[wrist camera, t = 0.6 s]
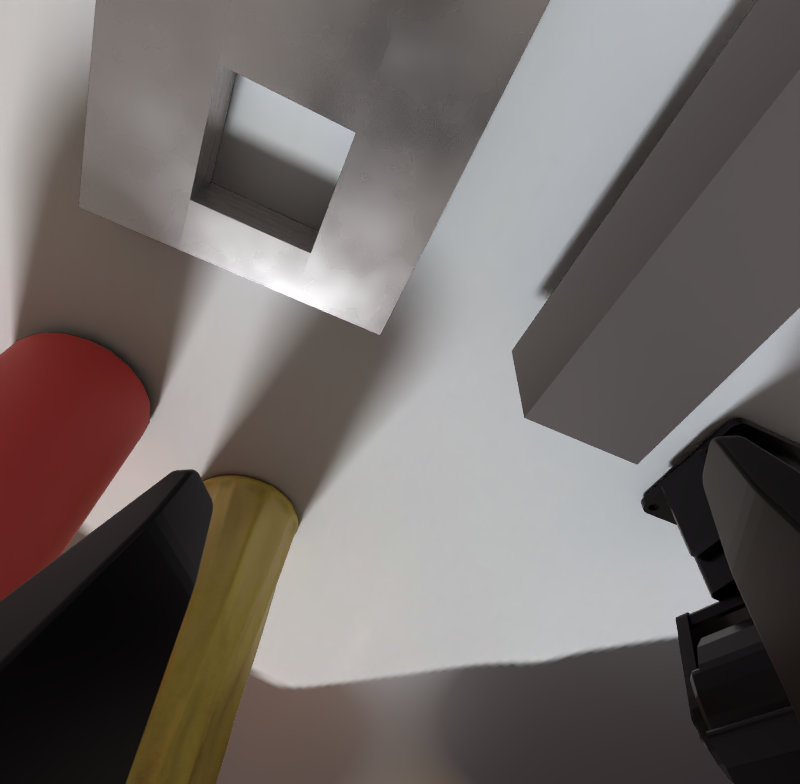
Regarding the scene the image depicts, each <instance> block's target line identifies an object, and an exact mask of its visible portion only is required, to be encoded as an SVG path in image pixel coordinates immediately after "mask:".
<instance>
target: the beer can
mask: <svg viewBox="0 0 800 784" xmlns="http://www.w3.org/2000/svg"><path fill="white" fill-rule="evenodd" d="M149 422H150V401H149V399H148V396H147V393H146V391H145V388H144V385H143V383H142V382H141V381H140V379H139V378H138V377H137V375H136V374H135V373H134V371H133V370H132V369H131V367H130V366H129V365H127V364H126V363H125V362H124V361H123V360H121V359H120V358H119V357H118V356H117V355H115V354H114V353H113V352H112V351H110V350H108V349H106V348H104V347H102V346H100V345H98V344H96V343H95V342H93V341H91V340H87V339H84V338H80V337H77V336H73V335H69V334H65V333H38V334H35V335H32V336H29V337H26V338H22V339H19V340H18V341H17V342H15V343H14V344H13V345H12V346H11V347H9V348H8V349H7V350H6V351H5V352H3V353H2V354H1V355H0V601H1V600H2V599H4V598H5V597H6V596H8V595H9V594H10V593H12V592H13V591H14V590H16V589H17V588H18V587H20V586H21V585H22V584H23V583H25V582H26V581H27V580H29V579H30V578H31V577H33V576H34V575H35V574H37V573H38V572H39V571H41V570H42V569H43V568H45V567H46V566H47V565H49V564H50V563H51V562H53V561H54V560H55V559H57V558H58V557H59V556H61V554H62V553H63V551H64V550H65V548H66V547H67V546H68V544H69V543H70V541H71V540H72V538H73V537H74V535H75V534H76V532H77V531H78V529H79V528H80V526H81V525H82V523H83V522H84V521H85V519H86V518H87V516H88V515H89V513H90V512H91V510H92V509H93V507H94V506H95V504H96V503H97V501H98V500H99V498H100V497H101V496H102V494H103V493H104V491H105V490H106V488H107V487H108V485H109V484H110V482H111V481H112V479H113V478H114V476H115V475H116V473H117V472H118V470H119V469H120V468H121V466H122V465H123V463H124V462H125V460H126V459H127V457H128V456H129V454H130V453H131V451H132V450H133V448H134V447H135V445H136V444H137V442H138V441H139V440H140V438H141V437H142V435H143V433H144V431H145V430H146V428H147V426H148V424H149Z"/></svg>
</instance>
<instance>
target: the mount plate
mask: <svg viewBox="0 0 800 784" xmlns="http://www.w3.org/2000/svg"><path fill="white" fill-rule="evenodd" d="M549 1H550V0H96V6H95V18H94V30H93V41H92V53H91V65H90V77H89V89H88V101H87V113H86V124H85V136H84V148H83V160H82V172H81V184H80V195H79V208H82V209H84V210H86V211H89V212H91V213H93V214H96V215H98V216H101V217H103V218H105V219H108V220H110V221H112V222H115V223H117V224H119V225H122V226H124V227H126V228H129V229H131V230H133V231H136V232H138V233H141V234H143V235H145V236H148V237H150V238H152V239H155V240H157V241H159V242H162V243H164V244H166V245H169V246H171V247H174V248H176V249H178V250H181V251H183V252H185V253H188V254H190V255H192V256H195V257H197V258H199V259H202V260H204V261H206V262H209V263H211V264H214V265H216V266H218V267H221V268H223V269H225V270H228V271H230V272H232V273H235V274H237V275H239V276H242V277H244V278H247V279H249V280H251V281H254V282H256V283H258V284H261V285H263V286H265V287H268V288H270V289H272V290H275V291H277V292H279V293H282V294H284V295H287V296H289V297H291V298H294V299H296V300H298V301H301V302H303V303H305V304H308V305H310V306H312V307H315V308H317V309H320V310H322V311H324V312H327V313H329V314H331V315H334V316H336V317H338V318H341V319H343V320H345V321H348V322H350V323H352V324H355V325H357V326H360V327H362V328H364V329H367V330H369V331H371V332H374V333H376V334H378V335H380V334H381V332H382V330H383V328H384V326H385V324H386V323H387V321H388V319H389V317H390V315H391V313H392V311H393V309H394V307H395V305H396V303H397V301H398V299H399V297H400V295H401V293H402V291H403V289H404V287H405V285H406V283H407V281H408V279H409V277H410V275H411V273H412V271H413V269H414V267H415V265H416V263H417V261H418V259H419V257H420V255H421V253H422V252H423V250H424V248H425V246H426V244H427V242H428V240H429V238H430V236H431V234H432V232H433V230H434V228H435V226H436V224H437V222H438V220H439V218H440V216H441V214H442V212H443V210H444V208H445V206H446V204H447V202H448V200H449V198H450V196H451V194H452V192H453V190H454V188H455V186H456V184H457V182H458V180H459V179H460V177H461V175H462V173H463V171H464V169H465V167H466V165H467V163H468V161H469V159H470V157H471V155H472V153H473V151H474V149H475V147H476V145H477V143H478V141H479V139H480V137H481V135H482V133H483V131H484V129H485V127H486V125H487V123H488V121H489V119H490V117H491V115H492V113H493V111H494V109H495V108H496V106H497V104H498V102H499V100H500V98H501V96H502V94H503V92H504V90H505V88H506V86H507V84H508V82H509V80H510V78H511V76H512V74H513V72H514V70H515V68H516V66H517V64H518V62H519V60H520V58H521V56H522V54H523V52H524V50H525V48H526V46H527V44H528V42H529V40H530V38H531V37H532V35H533V33H534V31H535V29H536V27H537V25H538V23H539V21H540V19H541V17H542V15H543V13H544V11H545V9H546V7H547V5H548V3H549ZM236 73H238V74H240V75H242V76H244V77H246V78H248V79H250V80H252V81H254V82H256V83H258V84H260V85H262V86H264V87H266V88H268V89H270V90H272V91H274V92H276V93H278V94H280V95H282V96H284V97H286V98H288V99H290V100H292V101H294V102H296V103H298V104H300V105H302V106H304V107H306V108H308V109H310V110H312V111H314V112H316V113H318V114H320V115H322V116H324V117H326V118H328V119H330V120H332V121H334V122H336V123H338V124H340V125H342V126H344V127H346V128H348V129H350V130H352V131H354V132H356V134H355V136H354V139H353V142H352V144H351V147H350V150H349V152H348V155H347V158H346V161H345V163H344V166H343V169H342V171H341V174H340V177H339V179H338V182H337V185H336V187H335V190H334V193H333V195H332V198H331V201H330V204H329V206H328V209H327V212H326V214H325V217H324V220H323V222H322V225H321V228H320V230H319V231H317V230H315V229H312V228H310V227H308V226H306V225H304V224H301V223H299V222H297V221H295V220H293V219H290V218H288V217H286V216H284V215H282V214H279V213H277V212H275V211H273V210H271V209H269V208H266V207H264V206H262V205H260V204H258V203H255V202H253V201H251V200H249V199H247V198H244V197H242V196H240V195H238V194H236V193H233V192H231V191H229V190H227V189H225V188H222V187H220V186H218V185H216V184H214V183H211V180H212V176H213V172H214V167H215V163H216V159H217V154H218V150H219V146H220V141H221V137H222V133H223V128H224V124H225V120H226V115H227V111H228V107H229V102H230V98H231V94H232V89H233V85H234V81H235V76H236Z"/></svg>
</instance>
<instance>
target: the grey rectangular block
mask: <svg viewBox="0 0 800 784" xmlns="http://www.w3.org/2000/svg"><path fill="white" fill-rule="evenodd" d="M799 308H800V0H757V2H756V3H755V4H754V6H753V7H752V9H751V10H750V12H749V13H748V14H747V16H746V17H745V19H744V20H743V22H742V23H741V24H740V26H739V27H738V29H737V30H736V32H735V33H734V34H733V36H732V37H731V39H730V40H729V42H728V43H727V44H726V46H725V47H724V49H723V50H722V52H721V53H720V54H719V56H718V57H717V59H716V60H715V61H714V63H713V64H712V66H711V67H710V69H709V70H708V71H707V73H706V74H705V76H704V77H703V79H702V80H701V81H700V83H699V84H698V86H697V87H696V89H695V90H694V91H693V93H692V94H691V96H690V97H689V99H688V100H687V101H686V103H685V104H684V106H683V107H682V109H681V110H680V111H679V113H678V114H677V116H676V117H675V119H674V120H673V121H672V123H671V124H670V126H669V127H668V129H667V130H666V131H665V133H664V134H663V136H662V137H661V139H660V140H659V141H658V143H657V144H656V146H655V147H654V149H653V150H652V151H651V153H650V154H649V156H648V157H647V159H646V160H645V161H644V163H643V164H642V166H641V167H640V169H639V170H638V171H637V173H636V174H635V176H634V177H633V179H632V180H631V181H630V183H629V184H628V186H627V187H626V189H625V190H624V191H623V193H622V194H621V196H620V197H619V199H618V200H617V201H616V203H615V204H614V206H613V207H612V209H611V210H610V211H609V213H608V214H607V216H606V217H605V219H604V220H603V221H602V223H601V224H600V226H599V227H598V229H597V230H596V231H595V233H594V234H593V236H592V237H591V239H590V240H589V241H588V243H587V244H586V246H585V247H584V249H583V250H582V251H581V253H580V254H579V256H578V257H577V259H576V260H575V261H574V263H573V264H572V266H571V267H570V269H569V270H568V271H567V273H566V274H565V276H564V277H563V279H562V280H561V281H560V283H559V284H558V286H557V287H556V289H555V290H554V291H553V293H552V294H551V296H550V297H549V299H548V300H547V301H546V303H545V304H544V306H543V307H542V309H541V310H540V311H539V313H538V314H537V316H536V317H535V319H534V320H533V321H532V323H531V324H530V326H529V327H528V329H527V330H526V331H525V333H524V334H523V336H522V337H521V339H520V340H519V341H518V343H517V344H516V346H515V347H514V349H513V350H512V354H513V360H514V365H515V370H516V376H517V381H518V386H519V392H520V397H521V402H522V408H523V413H524V418H526V419H529V420H531V421H534V422H536V423H538V424H541V425H543V426H546V427H548V428H550V429H553V430H555V431H558V432H560V433H562V434H565V435H567V436H570V437H572V438H574V439H577V440H579V441H582V442H584V443H586V444H589V445H591V446H594V447H596V448H599V449H601V450H603V451H606V452H608V453H611V454H613V455H615V456H618V457H620V458H623V459H625V460H627V461H630V462H632V463H635V464H638V463H639V462H640V461H641V460H642V459H643V458H644V457H645V456H646V455H647V454H649V453H650V452H651V451H652V450H653V449H654V448H655V447H656V446H657V445H658V444H659V443H660V442H661V441H662V440H663V439H664V438H665V437H666V436H667V435H668V434H669V433H670V432H671V431H672V430H673V429H674V428H675V427H676V426H678V425H679V424H680V423H681V422H682V421H683V420H684V419H685V418H686V417H687V416H688V415H689V414H690V413H691V412H692V411H693V410H694V409H695V408H696V407H697V406H698V405H699V404H700V403H701V402H702V401H703V400H704V399H705V398H707V397H708V396H709V395H710V394H711V393H712V392H713V391H714V390H715V389H716V388H717V387H718V386H719V385H720V384H721V383H722V382H723V381H724V380H725V379H726V378H727V377H728V376H729V375H730V374H731V373H732V372H733V371H735V370H736V369H737V368H738V367H739V366H740V365H741V364H742V363H743V362H744V361H745V360H746V359H747V358H748V357H749V356H750V355H751V354H752V353H753V352H754V351H755V350H756V349H757V348H758V347H759V346H760V345H761V344H762V343H764V342H765V341H766V340H767V339H768V338H769V337H770V336H771V335H772V334H773V333H774V332H775V331H776V330H777V329H778V328H779V327H780V326H781V325H782V324H783V323H784V322H785V321H786V320H787V319H788V318H789V317H790V316H791V315H793V314H794V313H795V312H796V311H797V310H798V309H799Z"/></svg>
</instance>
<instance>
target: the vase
mask: <svg viewBox="0 0 800 784" xmlns="http://www.w3.org/2000/svg"><path fill="white" fill-rule="evenodd" d="M203 483H204V484H205V486H206V488H207V490H208V492H209V494H210V496H211V498H212V502H213V513H212V518H211V522H210V526H209V530H208V535H207V539H206V543H205V547H204V552H203V556H202V560H201V564H200V568H199V573H198V576H197V580H196V584H195V587H194V590H193V593H192V596H191V599H190V602H189V605H188V608H187V611H186V614H185V617H184V619H183V622H182V625H181V628H180V631H179V634H178V637H177V639H176V642H175V645H174V648H173V651H172V654H171V657H170V659H169V662H168V665H167V668H166V671H165V674H164V676H163V679H162V682H161V685H160V688H159V691H158V694H157V696H156V699H155V702H154V705H153V708H152V711H151V714H150V716H149V719H148V722H147V725H146V728H145V731H144V734H143V736H142V739H141V742H140V745H139V748H138V751H137V753H136V756H135V759H134V762H133V765H132V768H131V771H130V773H129V776H128V779H127V782H126V784H216V783H217V779H218V776H219V772H220V769H221V766H222V763H223V759H224V756H225V752H226V749H227V746H228V742H229V739H230V735H231V731H232V728H233V724H234V720H235V717H236V714H237V710H238V707H239V704H240V701H241V698H242V694H243V691H244V688H245V685H246V682H247V679H248V676H249V673H250V670H251V667H252V664H253V661H254V658H255V655H256V652H257V648H258V645H259V642H260V639H261V636H262V633H263V629H264V626H265V622H266V619H267V616H268V612H269V609H270V605H271V602H272V599H273V596H274V592H275V588H276V584H277V582H278V579H279V576H280V573H281V571H282V568H283V565H284V562H285V559H286V557H287V554H288V551H289V549H290V545H291V542H292V540H293V537H294V535H295V534H296V532H297V530H298V518H297V514H296V512H295V509H294V507H293V505H292V503H291V502H290V501H289V500H288V498H287V497H286V496H285V495H283V494H282V493H281V492H280V491H279V490H277V489H276V488H274V487H273V486H271V485H269V484H267V483H265V482H262V481H260V480H257V479H253V478H250V477H245V476H238V475H224V476H217V477H213V478H210V479H207V480H205V481H203Z"/></svg>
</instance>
